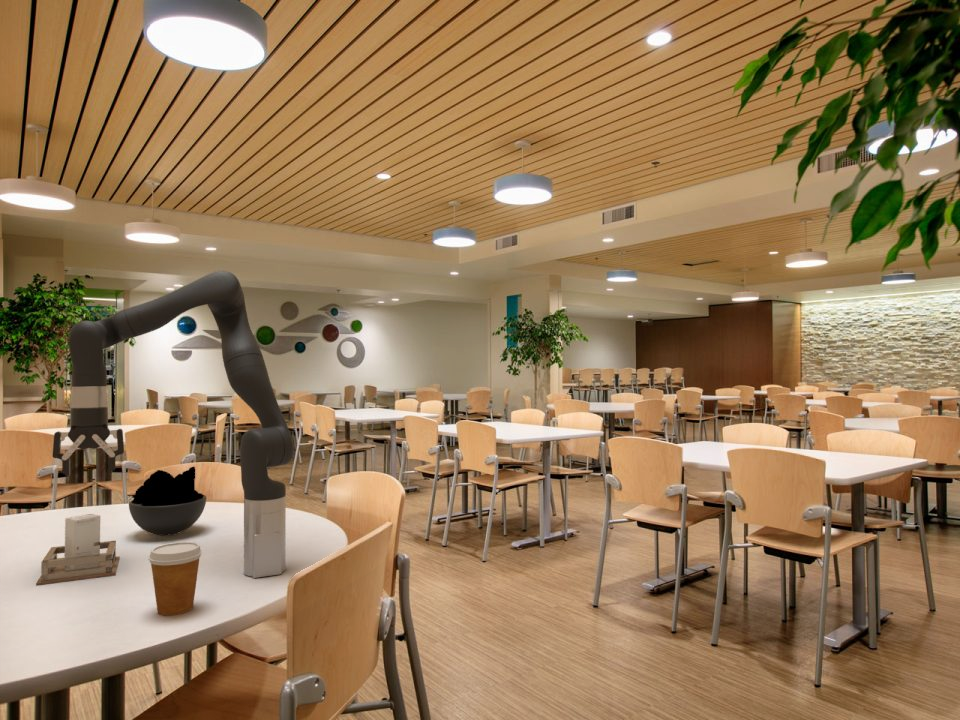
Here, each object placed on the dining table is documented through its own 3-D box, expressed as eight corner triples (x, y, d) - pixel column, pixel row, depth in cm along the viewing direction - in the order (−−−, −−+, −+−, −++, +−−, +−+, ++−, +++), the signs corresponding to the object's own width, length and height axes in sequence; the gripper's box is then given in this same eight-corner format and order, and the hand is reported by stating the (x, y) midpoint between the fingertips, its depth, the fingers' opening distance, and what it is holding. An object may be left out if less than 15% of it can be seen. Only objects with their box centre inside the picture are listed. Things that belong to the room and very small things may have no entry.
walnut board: (115, 575, 145) (115, 573, 145) (36, 585, 138) (36, 583, 138) (119, 558, 158) (119, 556, 158) (47, 566, 151) (47, 564, 151)
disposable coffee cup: (209, 600, 128) (209, 541, 129) (189, 618, 119) (190, 554, 119) (162, 601, 128) (162, 541, 128) (138, 619, 119) (138, 555, 119)
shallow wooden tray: (111, 572, 145) (111, 554, 145) (41, 581, 139) (41, 562, 139) (115, 557, 157) (115, 540, 157) (51, 564, 151) (51, 547, 151)
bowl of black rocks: (121, 546, 169) (121, 475, 169) (136, 529, 188) (136, 465, 188) (202, 540, 175) (202, 471, 175) (209, 523, 194) (209, 462, 194)
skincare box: (73, 573, 144) (74, 520, 145) (63, 570, 147) (63, 518, 147) (101, 566, 150) (101, 515, 150) (90, 563, 152) (91, 512, 152)
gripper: (124, 404, 156) (124, 470, 156) (55, 406, 150) (55, 475, 149) (123, 405, 150) (123, 474, 149) (51, 407, 143) (50, 479, 143)
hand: (89, 474), depth 149 cm, fingers open, 8 cm apart
